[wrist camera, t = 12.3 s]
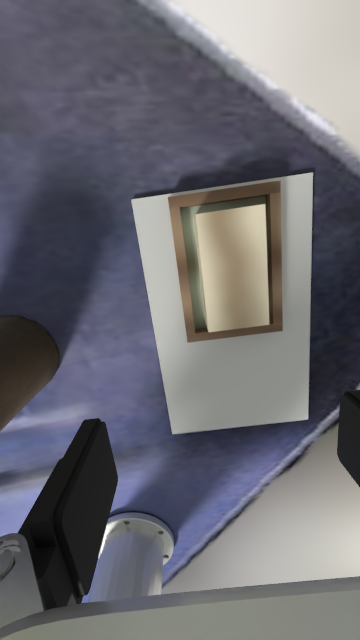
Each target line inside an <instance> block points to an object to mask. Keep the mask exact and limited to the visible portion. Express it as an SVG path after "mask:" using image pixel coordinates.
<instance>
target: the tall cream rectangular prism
mask: <svg viewBox="0 0 360 640" xmlns="http://www.w3.org/2000/svg"><path fill="white" fill-rule="evenodd" d="M193 219H194V228H195V237H196V245H197V254H198V263H199V272H200V281H201V290H202V298H203V307H204V316H205V322H206V325H207V329H208V332H216V331H224V330H232V329H240V328H248V327H255V326H263V325H269V298H268V269H267V239H266V209H265V204H261V205H254V206H248V207H241V208H234V209H227V210H221V211H214V212H207V213H200V214H195V216H194V218H193Z"/></svg>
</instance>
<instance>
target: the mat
mask: <svg viewBox="0 0 360 640" xmlns="http://www.w3.org/2000/svg"><path fill="white" fill-rule="evenodd" d="M280 180H281V242H282V312H283V331H278V332H270V333H262V334H254V335H246V336H238V337H230V338H222V339H214V340H206V341H198V342H190V343H187V335H186V328H185V321H184V313H183V306H182V298H181V291H180V284H179V276H178V269H177V262H176V254H175V247H174V240H173V232H172V225H171V217H170V210H169V203H168V197H172V196H179V195H185V194H192V193H199V192H206V191H212V190H219V189H226V188H233V187H239V186H246V185H253V184H259V183H266V182H273V181H280ZM312 200H313V172H312V173H306V174H299V175H292V176H286V177H279V178H272V179H265V180H259V181H252V182H245V183H239V184H232V185H225V186H219V187H212V188H205V189H198V190H192V191H185V192H178V193H172V194H165V195H158V196H151V197H145V198H138V199H131V201H132V207H133V213H134V218H135V224H136V230H137V235H138V241H139V247H140V252H141V258H142V264H143V270H144V275H145V281H146V287H147V292H148V298H149V304H150V309H151V315H152V321H153V327H154V332H155V338H156V344H157V349H158V355H159V361H160V366H161V372H162V378H163V384H164V389H165V395H166V401H167V406H168V412H169V418H170V423H171V429H172V434H180V433H189V432H198V431H207V430H217V429H226V428H235V427H244V426H253V425H262V424H271V423H281V422H290V421H299V420H308V404H309V353H310V302H311V251H312Z"/></svg>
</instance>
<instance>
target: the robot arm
mask: <svg viewBox="0 0 360 640" xmlns="http://www.w3.org/2000/svg"><path fill="white" fill-rule="evenodd" d="M337 454H338V457H339V460H340V462H341V463H342V464H343V466H344V467H345V468H346V470H347V471H348V472H349V474H350V475H351V476H352V478H353V479H354V480H355V481H356V483H357V484H358V485H359V487H360V390H355V391H346V392H345V393H344V396H341V398H340V411H339V429H338V448H337ZM117 482H118V475H117V471H116V466H115V462H114V458H113V454H112V449H111V445H110V441H109V437H108V432H107V428H106V424H105V422H101V420H100V419H99V418H97V419H87V420H84V421H83V422H82V424H81V426H80V428H79V430H78V432H77V433H76V435H75V437H74V439H73V441H72V442H71V444H70V446H69V448H68V450H67V451H66V453H65V455H64V457H63V458H62V459H60V460H59V462H58V463H57V465H56V466H55V468H54V470H53V472H52V473H51V475H50V477H49V479H48V480H47V482H46V484H45V486H44V488H43V489H42V491H41V493H40V495H39V496H38V498H37V500H36V502H35V503H34V505H33V507H32V509H31V511H30V512H29V514H28V516H27V518H26V519H25V521H24V523H23V525H22V527H21V528H20V530H19V532H18V533H11V534H7V535H4V536H2V537H0V640H360V577H348V578H336V579H324V580H314V581H302V582H290V583H279V584H268V585H257V586H245V587H235V588H223V589H213V590H203V591H192V592H183V593H171V594H161V592H162V574H163V565H164V564H166V563H167V562H168V560H169V559H170V558H171V556H172V554H173V550H174V538H173V534H172V532H171V530H170V529H169V528H168V526H167V525H166V524H165V523H163V522H162V521H161V520H159V519H157V518H156V517H153V516H151V515H148V514H143V513H136V512H129V513H122V514H117V515H115V516H112V517H110V518H109V514H110V510H111V506H112V503H113V499H114V495H115V491H116V487H117ZM98 558H99V562H98V566H97V570H96V574H95V577H94V581H93V585H92V589H91V593H90V597H89V601H88V603H81V602H82V598H83V595H87V594H88V593H89V590H90V587H91V583H92V580H93V576H94V572H95V568H96V564H97V560H98Z"/></svg>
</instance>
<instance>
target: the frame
mask: <svg viewBox="0 0 360 640" xmlns="http://www.w3.org/2000/svg"><path fill="white" fill-rule="evenodd" d="M168 203H169V210H170V217H171V225H172V232H173V240H174V247H175V254H176V262H177V269H178V276H179V284H180V291H181V298H182V306H183V313H184V321H185V328H186V335H187V343H190V342H198V341H206V340H214V339H222V338H230V337H238V336H246V335H254V334H262V333H270V332H278V331H283V312H282V242H281V180H280V181H273V182H266V183H259V184H253V185H246V186H239V187H233V188H226V189H219V190H212V191H206V192H199V193H192V194H185V195H179V196H172V197H168ZM261 204H265V209H266V239H267V269H268V298H269V325H263V326H255V327H248V328H240V329H232V330H224V331H216V332H208V329H207V325H206V322H205V316H204V307H203V298H202V290H201V281H200V272H199V263H198V254H197V245H196V237H195V228H194V219H193V218H194V216H195V214H200V213H207V212H214V211H221V210H227V209H234V208H241V207H248V206H254V205H261Z"/></svg>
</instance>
